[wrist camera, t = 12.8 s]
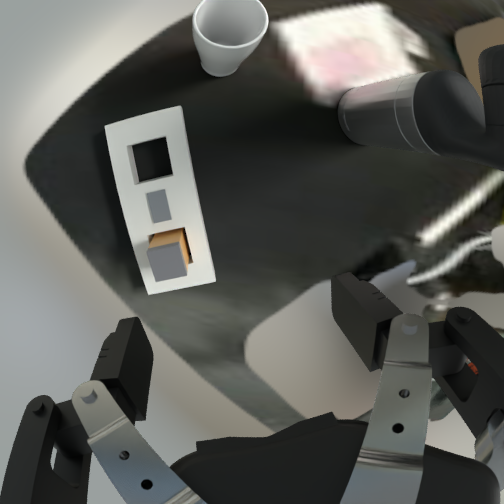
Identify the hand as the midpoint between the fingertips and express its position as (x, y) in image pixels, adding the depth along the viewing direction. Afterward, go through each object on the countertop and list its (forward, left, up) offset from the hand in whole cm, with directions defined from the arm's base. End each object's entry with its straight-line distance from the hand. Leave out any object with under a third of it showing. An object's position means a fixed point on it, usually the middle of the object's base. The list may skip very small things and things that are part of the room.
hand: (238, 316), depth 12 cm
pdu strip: (+7, 0, -30) cm, 31 cm away
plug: (+7, +6, -30) cm, 31 cm away
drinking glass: (-4, -18, -30) cm, 35 cm away
